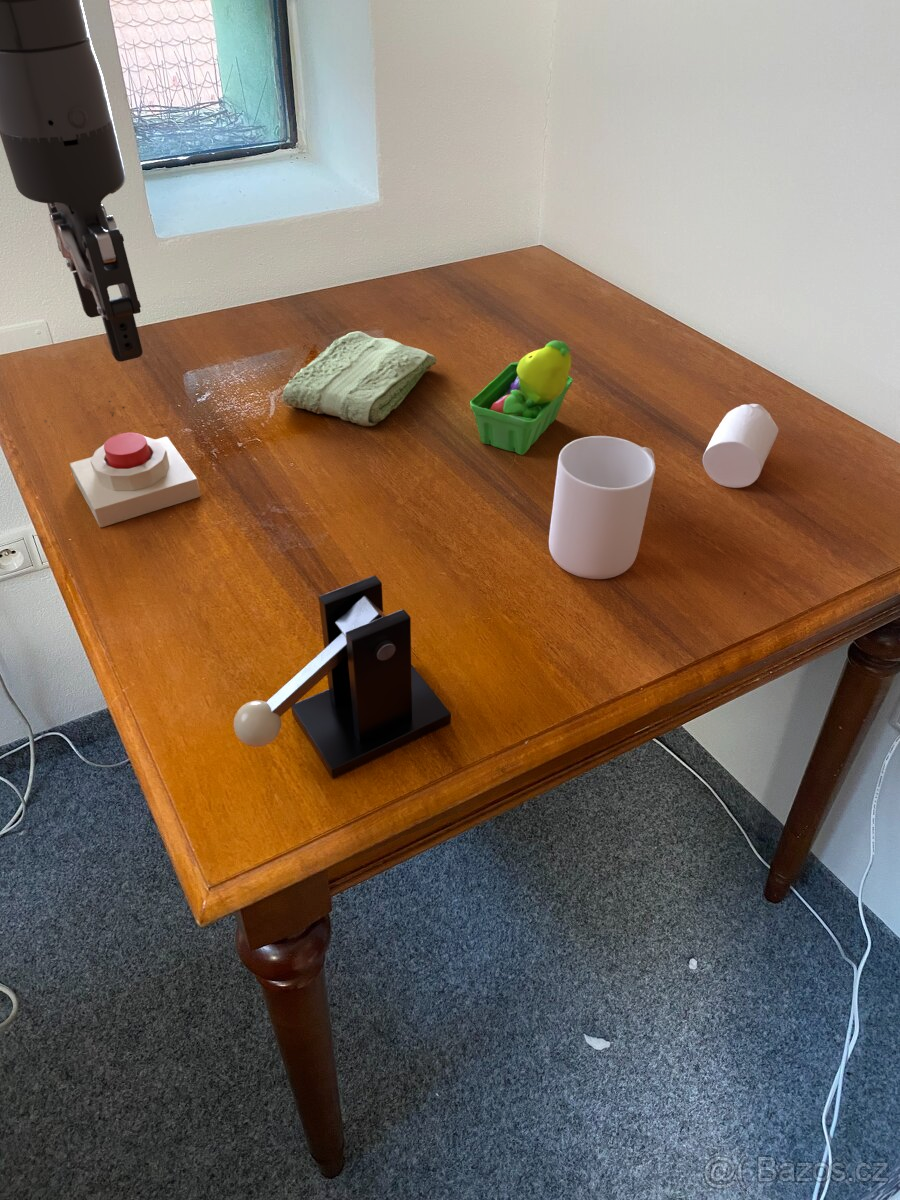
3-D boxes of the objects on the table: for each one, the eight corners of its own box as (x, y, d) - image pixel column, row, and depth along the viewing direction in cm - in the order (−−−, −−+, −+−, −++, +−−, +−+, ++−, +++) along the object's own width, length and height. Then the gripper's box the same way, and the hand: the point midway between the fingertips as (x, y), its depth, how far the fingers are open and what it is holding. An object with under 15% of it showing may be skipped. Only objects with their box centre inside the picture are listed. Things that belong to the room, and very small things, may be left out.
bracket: (332, 779, 63) (319, 667, 55) (291, 715, 67) (273, 601, 59) (451, 723, 67) (454, 611, 59) (405, 665, 71) (402, 553, 63)
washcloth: (441, 366, 108) (441, 342, 106) (375, 436, 96) (374, 410, 94) (347, 345, 112) (346, 321, 110) (273, 409, 100) (270, 384, 98)
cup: (529, 551, 82) (538, 460, 75) (607, 499, 88) (622, 410, 81) (599, 594, 78) (616, 501, 71) (676, 536, 84) (698, 446, 77)
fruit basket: (510, 399, 103) (517, 306, 95) (580, 419, 100) (593, 325, 92) (465, 445, 95) (468, 349, 88) (539, 468, 92) (550, 370, 85)
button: (114, 474, 84) (110, 459, 82) (103, 454, 86) (98, 439, 85) (156, 462, 85) (152, 447, 84) (143, 443, 88) (139, 428, 87)
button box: (100, 528, 83) (89, 493, 81) (75, 481, 89) (64, 447, 86) (201, 496, 87) (194, 463, 85) (171, 453, 93) (163, 420, 90)
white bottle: (778, 439, 97) (792, 394, 94) (753, 495, 89) (768, 448, 86) (724, 425, 99) (736, 380, 95) (696, 478, 91) (708, 432, 88)
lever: (263, 762, 60) (234, 747, 58) (245, 731, 62) (217, 715, 60) (402, 635, 60) (380, 615, 58) (380, 608, 62) (357, 587, 60)
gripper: (-23, 97, 63) (46, 311, 74) (19, 154, 54) (90, 386, 66) (83, 84, 66) (133, 292, 77) (139, 136, 57) (187, 361, 68)
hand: (113, 335), depth 71 cm, fingers open, 8 cm apart
